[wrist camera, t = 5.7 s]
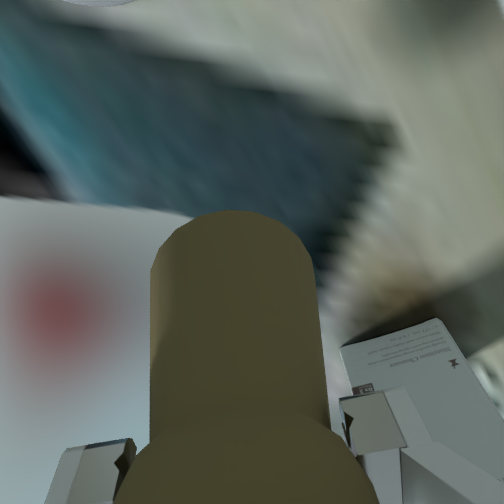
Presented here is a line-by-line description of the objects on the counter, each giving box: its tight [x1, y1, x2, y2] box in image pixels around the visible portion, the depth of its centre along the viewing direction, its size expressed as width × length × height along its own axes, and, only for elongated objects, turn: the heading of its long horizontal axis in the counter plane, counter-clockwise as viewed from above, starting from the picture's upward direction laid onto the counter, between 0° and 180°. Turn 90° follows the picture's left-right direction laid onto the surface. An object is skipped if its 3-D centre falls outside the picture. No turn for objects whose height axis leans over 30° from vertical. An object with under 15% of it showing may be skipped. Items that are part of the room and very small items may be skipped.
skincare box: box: [340, 318, 504, 483], centre depth 30 cm, size 8×6×15 cm
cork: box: [113, 210, 380, 504], centre depth 12 cm, size 6×6×11 cm
